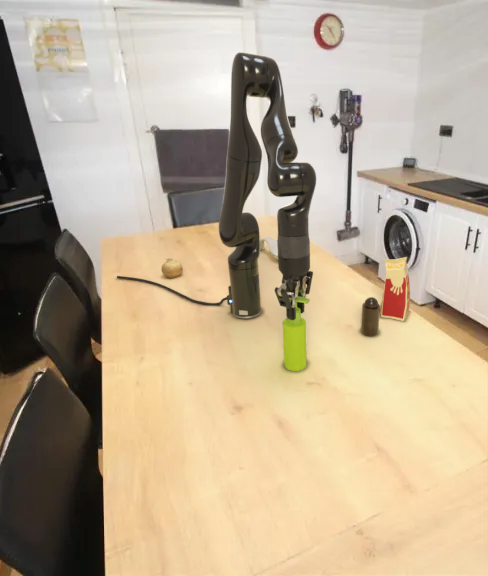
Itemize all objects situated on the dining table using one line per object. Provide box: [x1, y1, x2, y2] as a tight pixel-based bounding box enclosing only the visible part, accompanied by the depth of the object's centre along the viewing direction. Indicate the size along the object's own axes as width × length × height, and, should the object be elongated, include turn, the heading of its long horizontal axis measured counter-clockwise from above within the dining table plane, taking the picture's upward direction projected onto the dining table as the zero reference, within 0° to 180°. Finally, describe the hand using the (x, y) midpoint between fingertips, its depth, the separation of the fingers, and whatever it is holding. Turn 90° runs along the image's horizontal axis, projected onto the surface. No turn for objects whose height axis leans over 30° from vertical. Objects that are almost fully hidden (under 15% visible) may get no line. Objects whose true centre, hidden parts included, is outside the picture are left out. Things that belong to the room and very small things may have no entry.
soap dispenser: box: [282, 296, 311, 372], centre depth 105 cm, size 6×7×20 cm
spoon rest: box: [260, 236, 278, 261], centre depth 181 cm, size 24×12×7 cm, turn 48°
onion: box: [160, 258, 183, 279], centre depth 161 cm, size 8×8×7 cm
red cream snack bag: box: [379, 256, 411, 322], centre depth 131 cm, size 9×9×20 cm
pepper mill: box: [360, 296, 381, 337], centre depth 122 cm, size 5×5×12 cm
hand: (295, 315), depth 103 cm, fingers closed on soap dispenser, 3 cm apart
